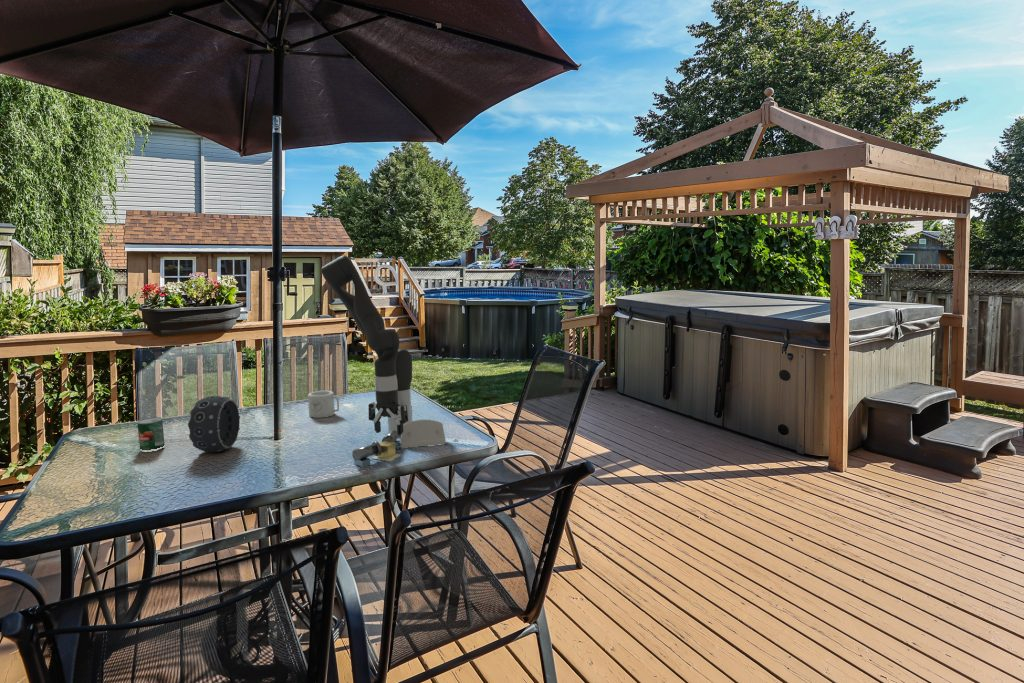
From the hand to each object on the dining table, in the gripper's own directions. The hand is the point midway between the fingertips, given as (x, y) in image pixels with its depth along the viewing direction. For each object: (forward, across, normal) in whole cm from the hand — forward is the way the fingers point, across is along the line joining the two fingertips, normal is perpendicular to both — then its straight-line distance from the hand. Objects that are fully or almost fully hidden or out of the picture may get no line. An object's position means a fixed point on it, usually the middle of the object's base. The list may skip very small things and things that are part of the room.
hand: (389, 433), depth 205 cm
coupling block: (+8, -1, -1) cm, 8 cm away
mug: (+9, -56, +38) cm, 68 cm away
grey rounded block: (+9, +4, +16) cm, 19 cm away
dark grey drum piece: (+8, -64, -14) cm, 66 cm away
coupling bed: (+8, -1, -1) cm, 9 cm away
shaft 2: (+8, -4, +7) cm, 12 cm away
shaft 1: (+8, -4, -8) cm, 13 cm away
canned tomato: (+8, -88, -20) cm, 90 cm away
